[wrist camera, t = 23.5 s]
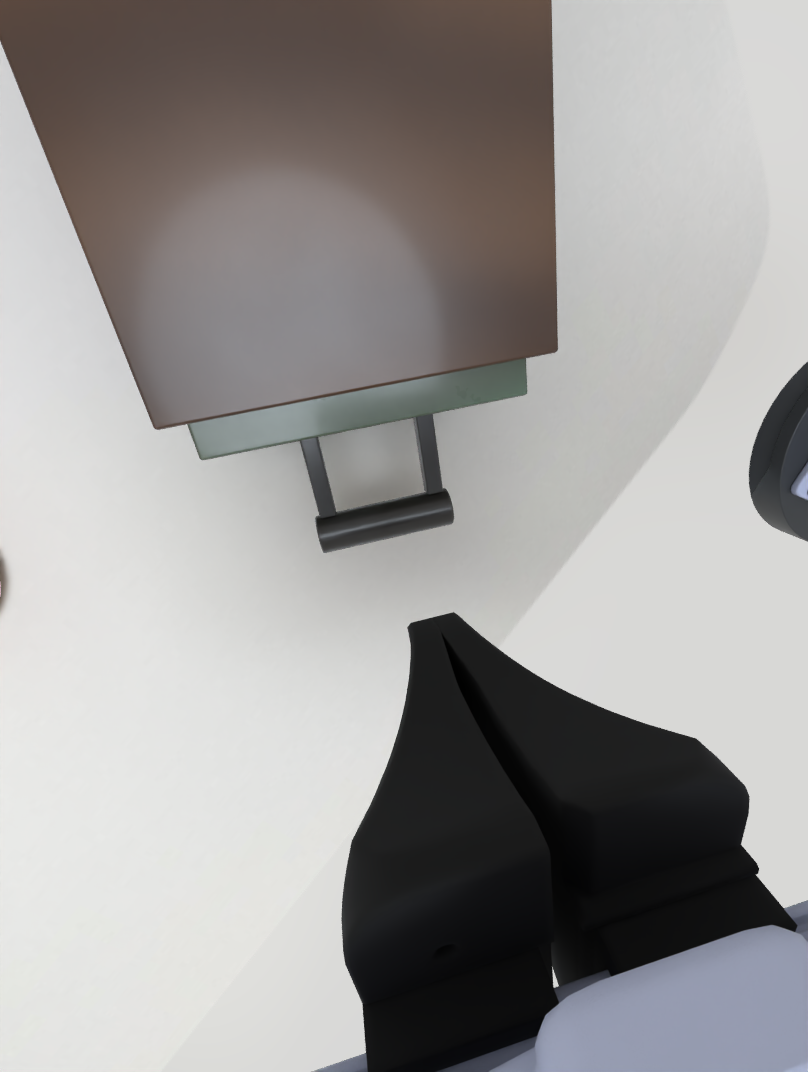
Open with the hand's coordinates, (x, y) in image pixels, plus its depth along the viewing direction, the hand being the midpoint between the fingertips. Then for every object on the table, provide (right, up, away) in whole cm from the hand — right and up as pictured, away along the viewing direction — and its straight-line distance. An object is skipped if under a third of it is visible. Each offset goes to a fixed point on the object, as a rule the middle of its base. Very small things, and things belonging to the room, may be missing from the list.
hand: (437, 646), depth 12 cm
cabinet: (-4, +16, +4) cm, 17 cm away
